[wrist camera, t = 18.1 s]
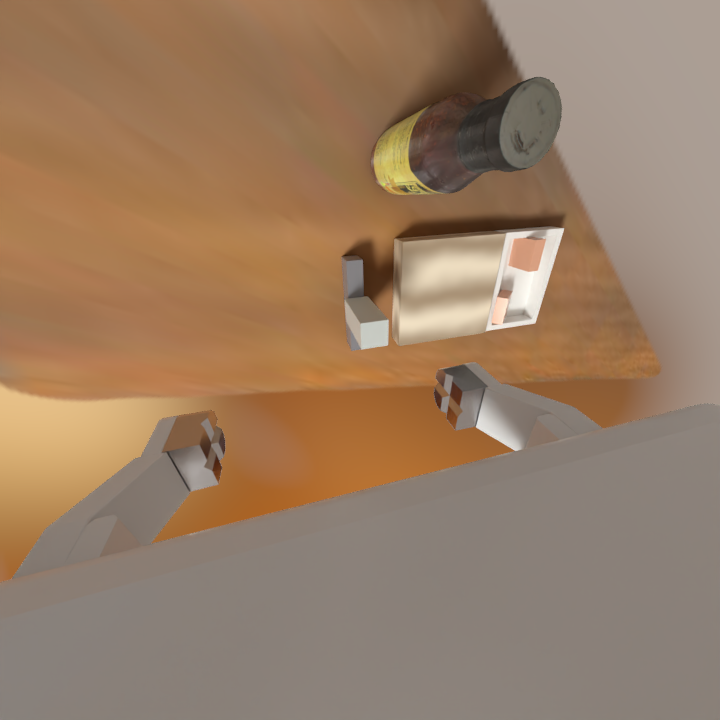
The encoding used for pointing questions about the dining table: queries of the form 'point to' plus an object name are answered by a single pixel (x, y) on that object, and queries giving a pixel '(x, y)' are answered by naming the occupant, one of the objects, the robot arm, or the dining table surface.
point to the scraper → (361, 309)
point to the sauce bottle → (467, 139)
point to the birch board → (444, 285)
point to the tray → (524, 277)
